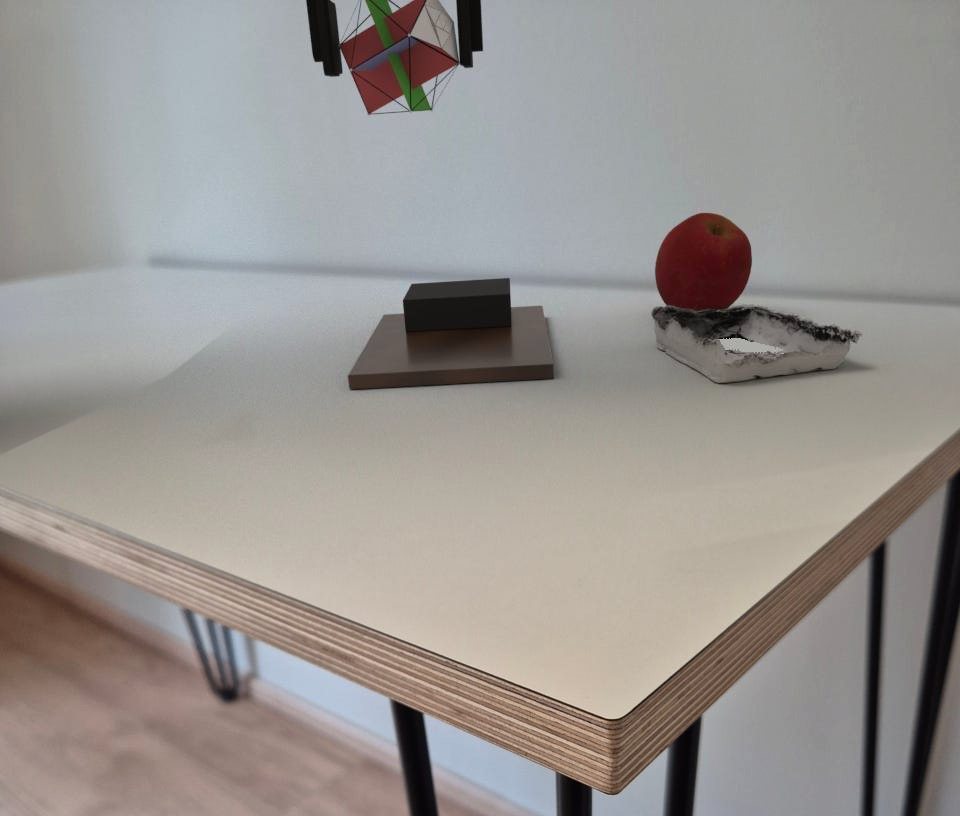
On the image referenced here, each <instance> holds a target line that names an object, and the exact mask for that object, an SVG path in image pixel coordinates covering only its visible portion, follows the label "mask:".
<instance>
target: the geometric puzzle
mask: <svg viewBox="0 0 960 816" xmlns="http://www.w3.org/2000/svg"><path fill="white" fill-rule="evenodd" d="M364 1H365V4H366V6H367V8H368V11H369V13H370V14H369V15H368V16H366V17H365V18H364V19H363V20H362V22H361V23H359V21H360V20H359V19H360V13H361V7H362V1H360V0H358V1H357V4H356V6H355V8H354V11H353V12H356V9H357V7H358V4H359V8H358V16H357V22H356V27H355V29H354V30H352V32H351V33H349V35H348V36H347V37H346V38H345V39H344V40H343V38H344V37H342V38H341V40H340V44H338V46H339V47H340V51H341V55H342V56H343V58H344V61H345V62H346V65H347V68H348V70H349V72H350V75H351V77H352V80H353V82H354V84H355V86H356V89H357V92H358V94H359V96H360V98H361V101H362V103H363V106H364V107H365V110H366V112H367V114H366V115H367V116H369V117H370V115H382V114H385V115H386V114H395V113H396V114H397V113H410V114H411V113H412V112H424V111H429V112H433V111H434V107H435V105H436V104H437V102H438V100H439V98H440V97H441V95H442V94H443V92H444V90H445V88H446V86H447V85H448V83H449V82H450V80H451V78H452V77H453V76H454V73H455V72H456V70H457V68H458V67H459V65H460V59H459V48H458V42H457V36H456V28H455V27H456V26H455V21H454V20H453V19H452V17H451V16H450V14H449V13H448V11H447V10H446V8H444V6H443V5H442V2H440V0H412V1H409V2H408V3H407V4H405V5H403V6H399V5H398V4H397V3H395V2H394V1H392V0H364ZM359 2H360V3H359ZM389 2H390V3H391V4H392V5H394V6H395V7H396V8H398V9H397V10H395V11H394V12H393V10H392V8H391V6H390V4H389ZM353 16H354V14H352V15H351V17H350V19H353V18H352V17H353ZM370 17H371V18H372V21H373V23H374V24H372V25H370V26H369V27H367V28H365V29H364V30H362V31H361V32H359V33H358V29H359V28H360V27H361V26H362V25H363V24H364V23H365V22H366V21H367V20H368V19H369V18H370ZM350 23H351V21H349V22H348V24H347V27H346V29H345V31H344V34H343V35H345V34H346V32H347V29H348V27H349V25H350ZM354 33H355V35H354V36H353V37H351V36H352V35H353V34H354ZM357 33H358V34H357ZM350 37H351V38H350ZM342 40H343V41H342ZM460 66H461V65H460ZM450 69H451V70H450ZM449 70H450V71H449ZM447 71H449V72H448V73H447V74H446V75H445V76H444V77H443V78H442V79H441V80H440V81H439V82H438V78H439V76H440V75H441V74H443V73H445V72H447ZM452 72H453V73H452ZM451 73H452V74H451ZM450 74H451V76H450V78H449V79H448V82H447V83H446V85H445V86H444V88H443V89H442V91H441V93H440V95H439V96H438V98H437V100H436V102H435V101H434V100H435V95H436V88H437V86H439V84H441V83H442V82H443V80H444V79H446V78H447V77H448V76H449V75H450ZM434 78H436V79H435V84H434V87H433V88H432V89H430V91H429V92H428V93H426V92H425V90H424V87H423V85H425V83H428V82H429V81H431V80H432V79H434ZM437 82H438V83H437ZM431 92H433V96H432V100H431V101H432V102H431V105H430V102H429V100H428V98H427V97H428V95H430V94H431ZM402 96H404V99H405V101H406V104H407V106H408V108H407V107H406V106H405V105H403V104H402V103H400V102H399V101H397V99H399V98H400V97H402ZM393 101H394V102H395V103H397V104H398V105H400V106H401V107H402V108H404V109H405V110H402V111H390V112H389V111H387V112H376V111H377V110H380V109H381V108H383V107H385V106H386V105H388V104H390V103H392V102H393ZM434 102H435V103H434Z"/></svg>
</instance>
